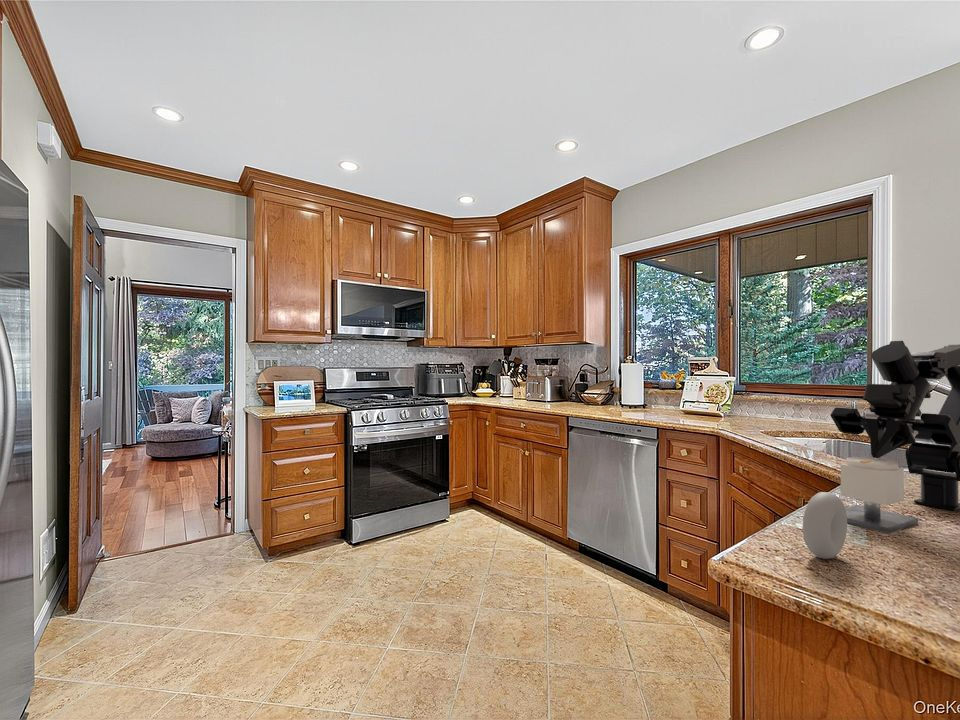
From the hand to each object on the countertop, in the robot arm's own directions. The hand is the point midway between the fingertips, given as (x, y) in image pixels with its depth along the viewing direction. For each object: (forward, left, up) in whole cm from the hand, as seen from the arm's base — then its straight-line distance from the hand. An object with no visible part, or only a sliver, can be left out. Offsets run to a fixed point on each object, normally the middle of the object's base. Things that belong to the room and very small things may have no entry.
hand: (874, 456), depth 87 cm
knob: (+1, 0, -8) cm, 8 cm away
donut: (+28, +5, -13) cm, 31 cm away
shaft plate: (0, 0, -12) cm, 12 cm away
